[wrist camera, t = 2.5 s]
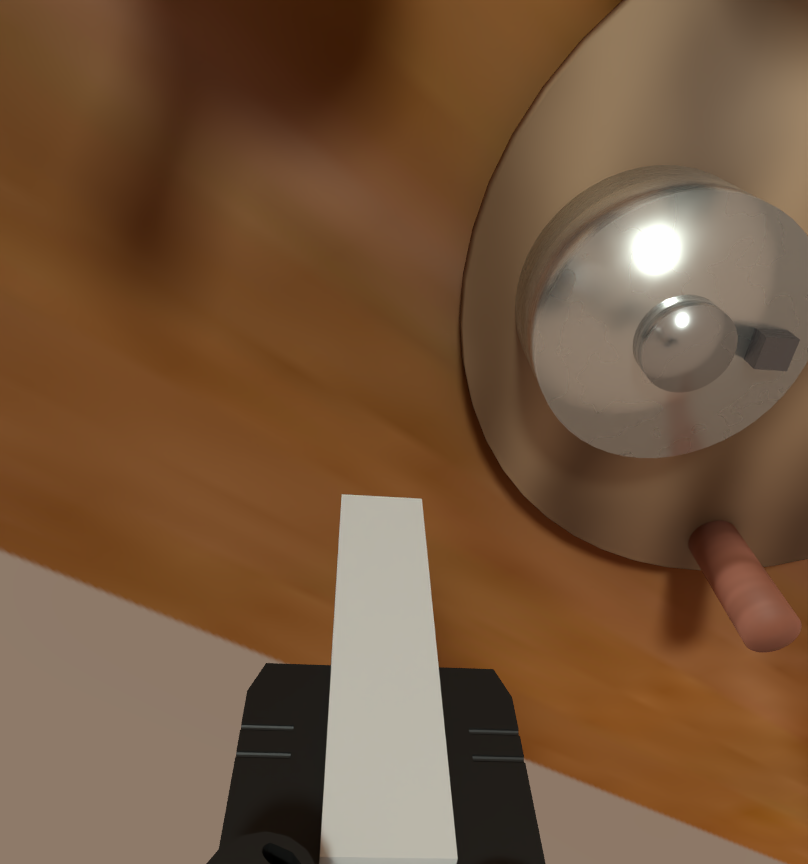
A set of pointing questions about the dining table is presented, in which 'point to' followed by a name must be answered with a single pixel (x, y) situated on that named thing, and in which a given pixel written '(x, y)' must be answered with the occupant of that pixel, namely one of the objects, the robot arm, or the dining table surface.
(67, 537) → the dining table surface
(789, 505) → the turntable
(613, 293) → the cover
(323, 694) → the robot arm
